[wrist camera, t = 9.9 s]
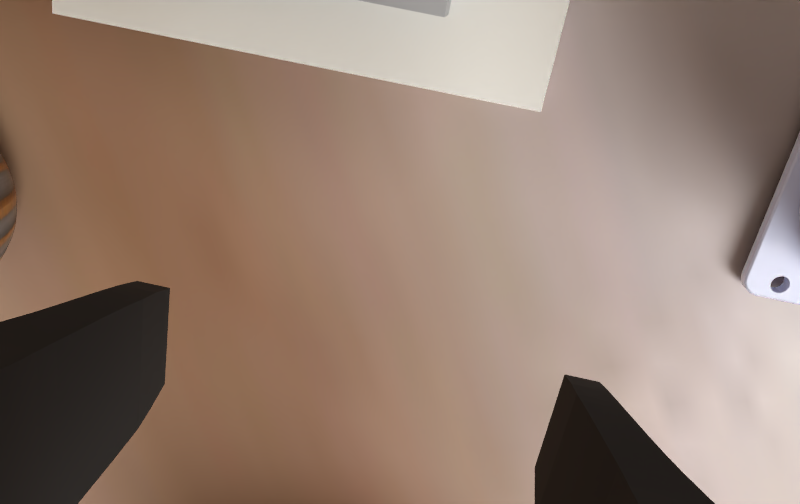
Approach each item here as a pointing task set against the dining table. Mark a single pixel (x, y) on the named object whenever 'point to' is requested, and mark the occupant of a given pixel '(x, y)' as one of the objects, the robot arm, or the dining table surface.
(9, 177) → the vase
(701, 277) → the dining table surface
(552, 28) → the hub panel
